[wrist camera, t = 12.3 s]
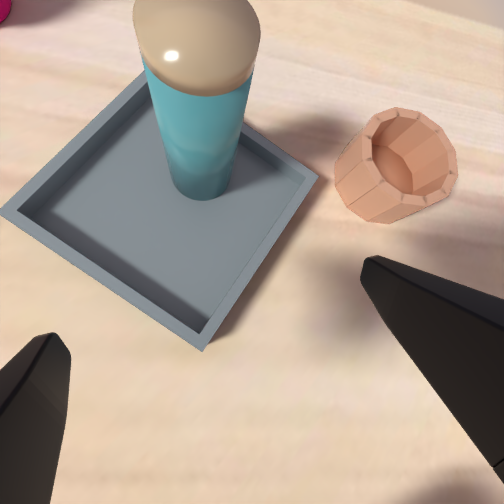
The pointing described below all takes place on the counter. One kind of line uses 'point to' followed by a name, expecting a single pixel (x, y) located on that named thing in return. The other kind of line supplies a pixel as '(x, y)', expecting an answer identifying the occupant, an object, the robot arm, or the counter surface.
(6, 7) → the pepper mill
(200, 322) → the tray
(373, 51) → the counter surface
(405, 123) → the terracotta cup
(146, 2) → the spice jar
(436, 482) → the counter surface
